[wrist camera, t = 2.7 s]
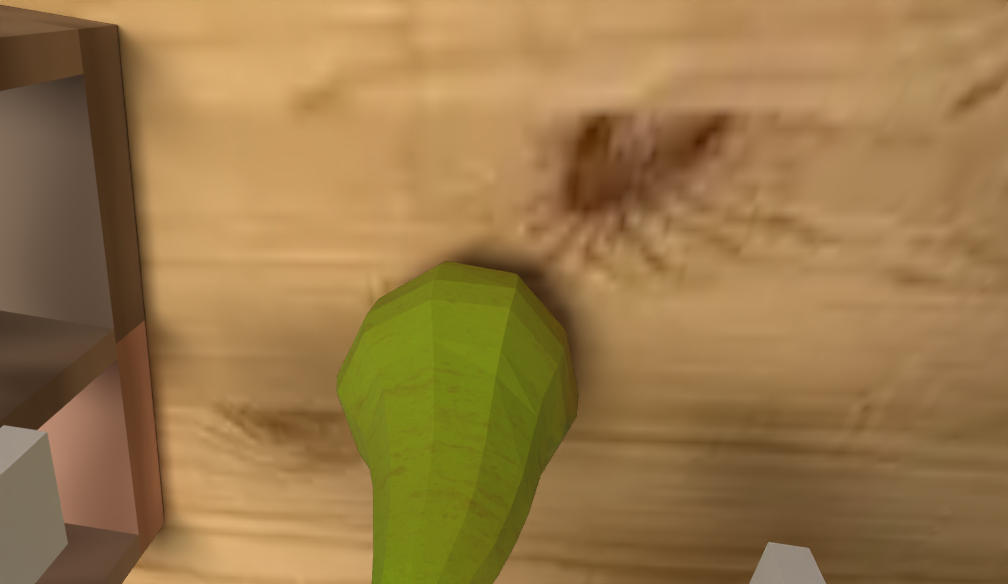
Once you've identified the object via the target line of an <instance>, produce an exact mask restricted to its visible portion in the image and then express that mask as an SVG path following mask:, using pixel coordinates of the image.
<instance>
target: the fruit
mask: <svg viewBox="0 0 1008 584" xmlns="http://www.w3.org/2000/svg"><path fill="white" fill-rule="evenodd" d="M337 394H338V397H339V399H340V402H341V405H342V407H343V410H344V413H345V416H346V418H347V421H348V424H349V427H350V429H351V432H352V435H353V438H354V440H355V443H356V446H357V448H358V451H359V453H360V455H361V456H362V458H363V459H364V461H365V462H366V464H367V465H368V467H369V469H370V470H371V477H372V484H373V571H372V584H493V582H494V581H495V579H496V578H497V576H498V575H499V573H500V571H501V570H502V568H503V566H504V564H505V562H506V560H507V558H508V557H509V555H510V553H511V551H512V549H513V547H514V545H515V543H516V541H517V539H518V537H519V534H520V532H521V530H522V528H523V525H524V523H525V521H526V518H527V516H528V514H529V511H530V508H531V505H532V501H533V498H534V495H535V492H536V488H537V485H538V482H539V479H540V476H541V474H542V472H543V471H544V469H545V467H546V466H547V464H548V462H549V461H550V459H551V458H552V456H553V454H554V453H555V451H556V449H557V448H558V446H559V445H560V443H561V441H562V440H563V438H564V436H565V435H566V433H567V432H568V430H569V428H570V426H571V425H572V423H573V421H574V420H575V418H576V416H577V407H578V396H579V395H578V390H577V385H576V379H575V374H574V369H573V364H572V359H571V354H570V348H569V343H568V338H567V333H566V330H565V329H564V328H563V327H562V325H561V324H560V323H559V322H558V321H557V320H556V319H555V317H554V316H553V315H552V314H551V313H550V312H549V311H548V309H547V308H546V307H545V306H544V305H543V304H542V303H541V301H540V300H539V299H538V298H537V297H536V296H535V294H534V293H533V292H532V291H531V290H530V289H529V288H528V286H527V285H526V284H525V283H524V282H523V281H522V280H521V278H520V277H519V276H518V275H517V274H516V273H511V272H505V271H500V270H494V269H489V268H483V267H477V266H472V265H466V264H461V263H455V262H449V261H446V262H444V263H441V264H440V265H438V266H436V267H434V268H432V269H431V270H429V271H427V272H425V273H424V274H422V275H420V276H418V277H417V278H415V279H413V280H411V281H409V282H408V283H406V284H404V285H402V286H401V287H399V288H397V289H395V290H393V291H392V292H390V293H388V294H386V295H385V296H383V297H381V298H379V299H378V301H377V302H376V303H375V305H374V306H373V307H372V308H371V310H370V311H369V312H368V314H367V315H366V318H365V320H364V322H363V324H362V326H361V328H360V330H359V332H358V334H357V336H356V338H355V340H354V342H353V344H352V346H351V348H350V350H349V352H348V354H347V357H346V359H345V361H344V363H343V365H342V367H341V369H340V371H339V373H338V375H337Z"/></svg>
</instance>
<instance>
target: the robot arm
mask: <svg viewBox="0 0 1008 584" xmlns="http://www.w3.org/2000/svg"><path fill="white" fill-rule="evenodd" d="M67 544H68V541H67V536H66V530H65V525H64V520H63V514H62V509H61V503H60V498H59V493H58V487H57V482H56V477H55V471H54V466H53V460H52V455H51V450H50V444H49V439H48V434H47V432H45V431H38V430H32V429H25V428H19V427H12V426H6V425H3V426H2V427H1V428H0V584H35V583H36V582H37V581H38V579H39V578H40V577H41V576H42V574H43V573H44V572H45V571H46V570H47V568H48V567H49V566H50V565H51V564H52V562H53V561H54V560H55V559H56V558H57V556H58V555H59V554H60V553H61V552H62V550H63V549H64V548H65V547H66V545H67ZM749 584H826V583H825V580H824V578H823V576H822V574H821V572H820V570H819V568H818V566H817V564H816V561H815V559H814V557H813V555H812V553H811V551H810V549H809V548H805V547H799V546H792V545H786V544H779V543H773V542H768V544H767V546H766V548H765V550H764V552H763V555H762V557H761V559H760V561H759V563H758V566H757V568H756V570H755V572H754V574H753V576H752V579H751V581H750V583H749Z"/></svg>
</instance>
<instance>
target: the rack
mask: <svg viewBox="0 0 1008 584" xmlns="http://www.w3.org/2000/svg"><path fill="white" fill-rule="evenodd" d="M3 425H6V426H12V427H19V428H25V429H32V430H38V431H45V432H47V434H48V439H49V444H50V450H51V455H52V460H53V466H54V471H55V477H56V482H57V487H58V493H59V498H60V503H61V509H62V514H63V520H64V525H65V530H66V536H67V541H68V544H67V545H66V547H65V548H64V549H63V550H62V552H61V553H60V554H59V555H58V556H57V558H56V559H55V560H54V561H53V562H52V564H51V565H50V566H49V567H48V568H47V570H46V571H45V572H44V573H43V574H42V576H41V577H40V578H39V579H38V581H37V582H36V583H35V584H122V583H123V581H124V580H125V578H126V577H127V576H128V574H129V573H130V571H131V570H132V568H133V567H134V566H135V564H136V563H137V561H138V560H139V559H140V557H141V556H142V554H143V553H144V551H145V550H146V549H147V547H148V546H149V544H150V543H151V542H152V540H153V539H154V537H155V536H156V534H157V533H158V532H159V530H160V529H161V527H162V526H163V524H164V515H163V504H162V494H161V483H160V473H159V462H158V452H157V441H156V431H155V421H154V410H153V400H152V389H151V379H150V368H149V358H148V347H147V337H146V326H145V316H144V305H143V295H142V284H141V274H140V263H139V253H138V243H137V232H136V222H135V211H134V201H133V190H132V180H131V169H130V159H129V148H128V138H127V127H126V117H125V106H124V96H123V86H122V75H121V65H120V54H119V44H118V33H117V25H114V24H108V23H102V22H96V21H90V20H85V19H79V18H73V17H67V16H61V15H55V14H50V13H44V12H38V11H32V10H26V9H21V8H15V7H9V6H3V5H0V428H1V427H2V426H3Z"/></svg>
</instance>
